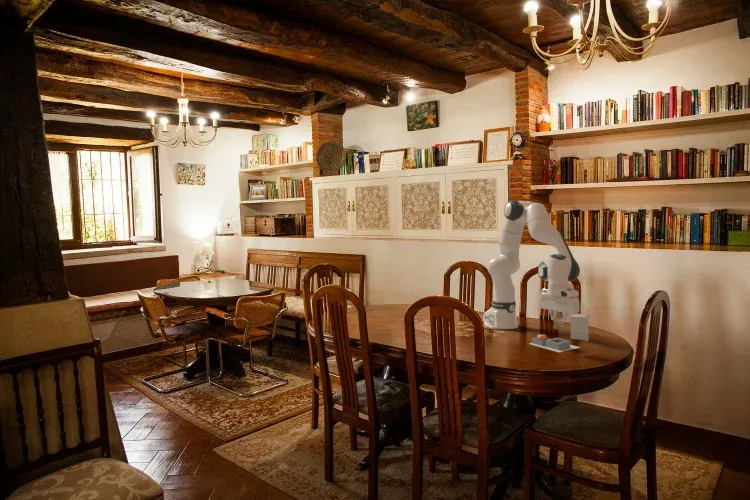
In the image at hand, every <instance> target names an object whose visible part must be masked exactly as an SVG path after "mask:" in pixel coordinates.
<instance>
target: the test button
mask: <svg viewBox="0 0 750 500" xmlns="http://www.w3.org/2000/svg"><path fill="white" fill-rule="evenodd" d="M536 338H537V339H538V340H541V341H543V340H546V338H547V335H546V334H537V336H536Z"/></svg>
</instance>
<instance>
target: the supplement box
mask: <svg viewBox="0 0 750 500" xmlns="http://www.w3.org/2000/svg"><path fill="white" fill-rule="evenodd" d="M589 336H590V335H589V314H585V313H578V314H570V339H571V340H580V341H583V342H588V341H589Z"/></svg>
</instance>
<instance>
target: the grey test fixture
mask: <svg viewBox="0 0 750 500" xmlns="http://www.w3.org/2000/svg"><path fill="white" fill-rule="evenodd" d="M528 344H529V345H531V346H536V347H538V348H542V349H546V350H549V351H553V352H556V353H562V352H567V351H571V350H572V351H573V350H575V349H580V348H581V346H576V345H573V344H571V340H567V339H562V338H559V337H556V338H555V337H554V338H548V337H546V340H543V341H541V340H538V339H537V337H533V338H531V342H530V343H528Z"/></svg>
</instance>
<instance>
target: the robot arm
mask: <svg viewBox="0 0 750 500" xmlns="http://www.w3.org/2000/svg"><path fill="white" fill-rule="evenodd" d="M503 214H504V217H505V218H504V221H503V224H502V226H501V227H502V228H501V231H500V237H499V240H498V245H499V256H496V257H493V258H492V259H491V260H489V262H488V264H487V272H488V273H489V275H490V277H491V279H492V280H491V281H492V286H493V301H491V302H490V304H491V307H490V308H489V309H488V310H486V311H485V312H483V316H482V320H483V321H484V325H483V326H485V327H486V328H489V329H492V330H513V329H517V328H518V327H519V323H518V320H517V311H516V306H517V303H516V300H515V299H516V294H515V293H516V290H515V289H516V288H515V287H516V286H515V285H514V284H513V281H512V276H511V275H514V274H515V273H516V272H518V270H519V269H520V267H521V261H520V246H521V241H522V237H523V233H524V228H525V225H527V231H528V233H529V236H530V237H531V238H532V239H533V240H535V241H537V242H540V243H543V244H544V243H545V244H548V245H550V246H552V247H554V248H555V249H556V250H557V252H558V254H557V253H555V254H550V255H549V257H548V259H546V260H543V261H541V262H540V263H539V264H538V267H537V276H538V277H539V278H540V280H542V281H546V282H548V283H547V288H542V289H541V290H540V292H539V293H540V294H539V300H538V307H539V309H543V310H548V313H549V315H550V319H551V321H554V309H557V311H558V312H562V315H563V317H562V318H561V322H563V323H566V322H567V317H568V316H569V315H572V314H580V300H579V297H578V296H579V294H580V293H579V291H578V290H576V289H574V288H572V287H570V283H569V282H575V280H577V278H578V277H579V276H580V274H581V269H580V265H579V263H578V262H577V260H576V259H575V257H574V255H573V254H572V252H571V250H570V247H569V246H568V242H566V239H565V236H564V235H563V233H562V232H560V231H559V230H558V229H556V227H555V226H554V225H553V224H552V222H551V218H550V215H549V212H548V210H547V208H546V206H545V205H544V204H543V203H540V202H533V201H529V200H527V201H525V200H517V199H515V200H509V201H508V202H507V203H506V204H505V206H504V210H503Z"/></svg>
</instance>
